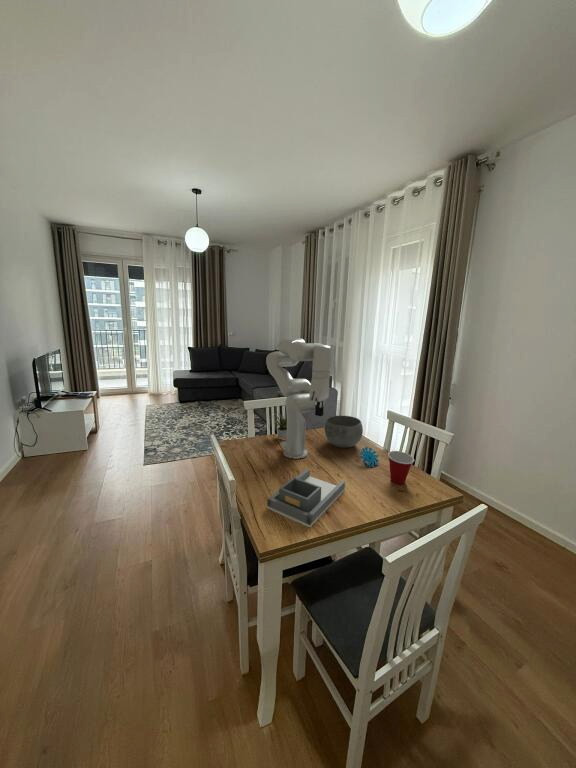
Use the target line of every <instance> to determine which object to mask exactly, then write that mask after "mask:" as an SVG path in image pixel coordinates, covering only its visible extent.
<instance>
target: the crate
mask: <svg viewBox="0 0 576 768" xmlns="http://www.w3.org/2000/svg"><path fill="white" fill-rule="evenodd" d="M278 489H279V490H278V491H279V501H281V502H283V503H286V504H288V505H290V506H293V507H295V508H297V509H300V510H302V511H304V512H307V513H310V512H311V511H312V510H313V509H314V508H315V507H316V506H317V505H318V504H319V503H320V502H321V487H320V486H317V485H314V484H312V483H309V482H306V481H303V480H301V479H298V478H296V477H295V476H294V477H293V478H291V479H289V481H286V483H284V484H283V485H282V486H281V487H279V488H278Z"/></svg>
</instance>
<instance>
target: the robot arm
mask: <svg viewBox="0 0 576 768" xmlns="http://www.w3.org/2000/svg"><path fill="white" fill-rule="evenodd" d="M277 348H278V351H273V352H270V353H268V354H267V355H266V358H265V359H266V361H265V362H266V363H265V364H266V366H267V370H268V372H269V374H270V375H271V376H272V377H273V379H274V380H275V382H276V384H277V386H278V388H279V390H280V393H282V395H283V396H284V397H285V398H286V399H285V409H286V411H285V412H286V415H287V419H286V420H287V440H286V441H281V445H280V447H281V448H283V451H282V452H283V456H285V457H286V458H288V459H292V458H293V460H299V459H300V458H301V459H303V458H306V457H307V456H308V454H309V453H308V450H307V449H306V424H307V423H306V418H305V417H304V416H303V414H304V413H309V412H310V413H311V412H314V415H315V416H317V417H323V416H324V406H325V402H326V401H327V399H329V396H330V378H331V377H330V376H331V358H332V348H331V346H329V345H327V344H322V343H320V342H318V343H317V342H314V343H311V342H310V343H309V342H308V343H307V342H306V341H305V340H304V339H303V338H300V337H285V338H282V339H281V340H279V342H278V343H277ZM301 361H302V362H305V361H312V368H311V369H312V372H311V374H312V375H311V377H312V378H311V381H309V380H308V379H306V378H293V376H292V374H291V373H290V372H289V371H288V370H287V369H286V368H287V367H294V366H297V364H298V363H299V362H301ZM285 367H286V368H285Z"/></svg>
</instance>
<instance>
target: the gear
mask: <svg viewBox="0 0 576 768" xmlns="http://www.w3.org/2000/svg"><path fill="white" fill-rule="evenodd" d="M359 454H360V459H362V462H363V464H366V466H367V467H371V468H374V467H375V466H378V463H379V461H380V460H379V459H378V458H379V457H380V454H379V453H378V454H377V452H376V451H375V450H373V448H372V447H369V446H366V447H364V448H362V449H361V451H360V453H359ZM366 462H367V463H366Z"/></svg>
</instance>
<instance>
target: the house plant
mask: <svg viewBox="0 0 576 768" xmlns="http://www.w3.org/2000/svg"><path fill="white" fill-rule="evenodd" d="M271 413H273V414H274V415H276V416H272V418H274V419H275V421H274V423H273V424H275V427H277V428H276V429H277V436H278V437H279V438H282V439H286V438H287V414H286V413H285V412H284V414H283V416H282V415H281V413H280V412H278V415H279V416H278V415H277V413H274V412H271ZM285 414H286V415H285ZM279 438H278V439H279Z"/></svg>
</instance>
